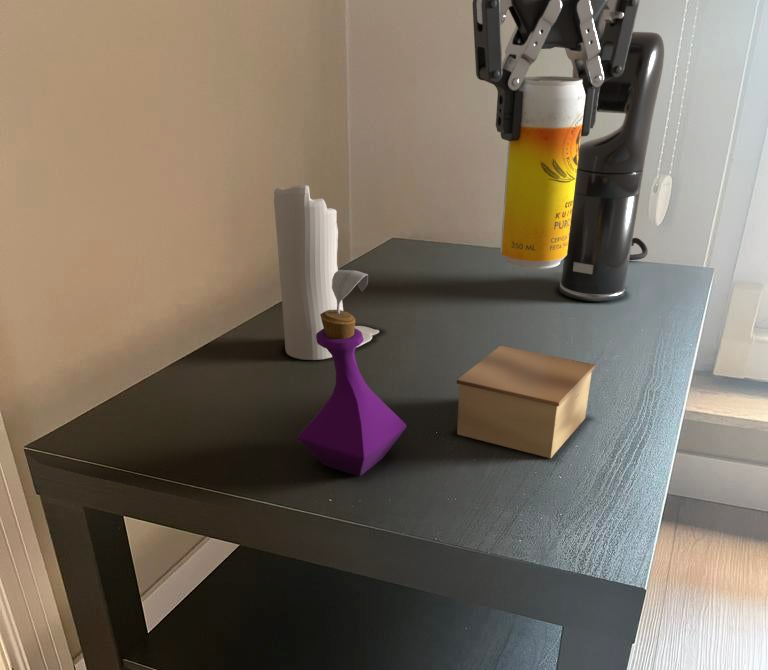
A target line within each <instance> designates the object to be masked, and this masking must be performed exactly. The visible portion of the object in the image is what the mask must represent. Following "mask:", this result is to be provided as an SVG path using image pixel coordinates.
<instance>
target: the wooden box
mask: <svg viewBox="0 0 768 670" xmlns="http://www.w3.org/2000/svg"><path fill="white" fill-rule="evenodd" d="M595 369H596V364H594V363H589V362H584V361H580V360H575V359H569V358H564V357H560V356H554V355H550V354H544V353H539V352H534V351H529V350H525V349H519V348H513V347H509V346H504V345H499V346H498V347H497V348H495V349H494V350H493V351H492V352H490V353H489V354H488V355H486V356H485V357H484V358H483V359H482V360H480V361H479V362H478V363H476V364H475V365H473V367H471V368H470V369H468V371H466V372H465V373H464V374H462V375H461V376H459V378H457V379H456V384H458V385H459V388H458V405H457V406H458V408H457V426H456V427H457V428H456V429H457V430H456V435H458V436H462V437H466V438H470V439H472V440H473V439H474V440H478V441H482V442H484V443H488V444H493V445H496V446H499V447H504V448H509V449H513V450H517V451H519V452H523V453H528V454H532V455H535V456H540V457H543V458H547V459H552V458H553V457H554V456H555V454H556V453H557V452H558V451H559V449H560V448H561V447H562V446H563V445H564V443H566V442H567V440H568V439H569V438H570V436H571V435H572V434H574V432H575V431H576V430H577V429H578V427H579V426H580V425H581V424H582V423H583V421H584V420H585V419H586V414H587V409H588V408H587V407H588V401H589V394H590V387H591V382H592V381H591V380H592V375H593V374H592V373H593V371H594V370H595Z"/></svg>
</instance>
